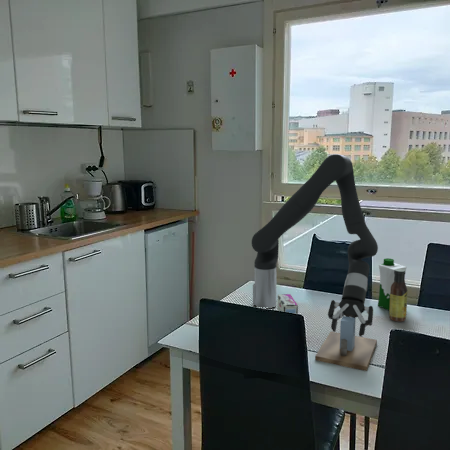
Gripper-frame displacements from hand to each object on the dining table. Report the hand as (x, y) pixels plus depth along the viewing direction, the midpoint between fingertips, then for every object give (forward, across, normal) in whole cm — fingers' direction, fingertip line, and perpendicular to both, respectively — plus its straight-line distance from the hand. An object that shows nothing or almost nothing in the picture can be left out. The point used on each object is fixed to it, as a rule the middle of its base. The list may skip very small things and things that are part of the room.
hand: (346, 333), depth 144 cm
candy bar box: (+6, -20, +4) cm, 21 cm away
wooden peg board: (+4, 0, +6) cm, 7 cm away
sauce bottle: (-20, +12, +31) cm, 39 cm away
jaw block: (+3, 0, +5) cm, 6 cm away
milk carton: (-29, +8, +39) cm, 50 cm away
